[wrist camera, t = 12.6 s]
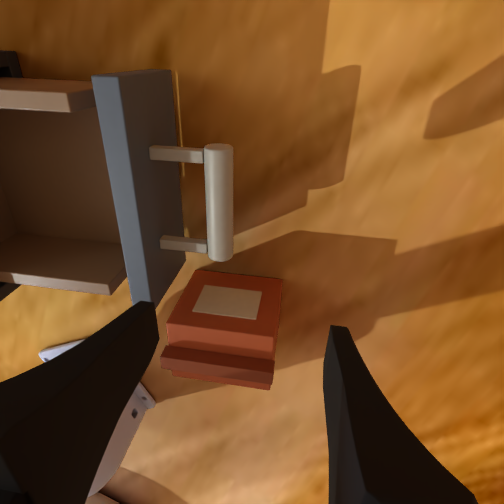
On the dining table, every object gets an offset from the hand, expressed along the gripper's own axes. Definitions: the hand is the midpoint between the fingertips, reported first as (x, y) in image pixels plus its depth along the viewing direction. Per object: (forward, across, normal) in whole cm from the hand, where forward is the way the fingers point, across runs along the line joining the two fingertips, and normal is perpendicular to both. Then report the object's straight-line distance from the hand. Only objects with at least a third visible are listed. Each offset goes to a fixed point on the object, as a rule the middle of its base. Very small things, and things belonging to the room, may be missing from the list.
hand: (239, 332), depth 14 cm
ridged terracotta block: (+10, +2, +7) cm, 12 cm away
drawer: (+10, +10, -3) cm, 14 cm away
